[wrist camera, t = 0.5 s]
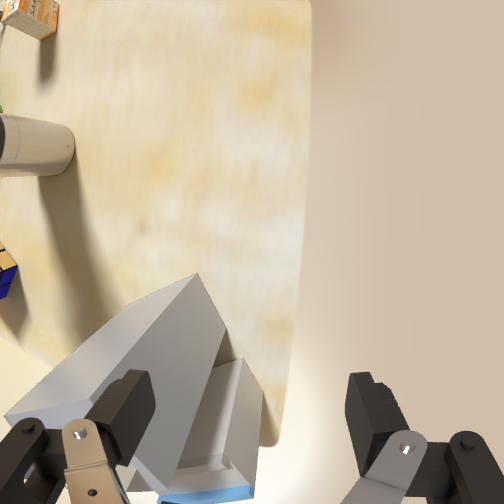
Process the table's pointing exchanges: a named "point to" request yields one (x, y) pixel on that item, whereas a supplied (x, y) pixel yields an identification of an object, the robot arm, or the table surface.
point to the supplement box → (32, 16)
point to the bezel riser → (221, 441)
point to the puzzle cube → (6, 271)
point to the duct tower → (142, 358)
